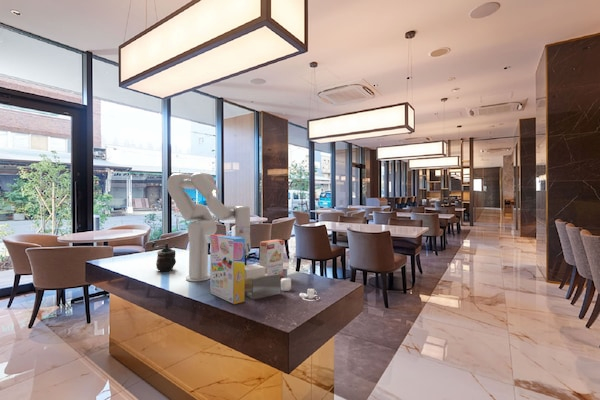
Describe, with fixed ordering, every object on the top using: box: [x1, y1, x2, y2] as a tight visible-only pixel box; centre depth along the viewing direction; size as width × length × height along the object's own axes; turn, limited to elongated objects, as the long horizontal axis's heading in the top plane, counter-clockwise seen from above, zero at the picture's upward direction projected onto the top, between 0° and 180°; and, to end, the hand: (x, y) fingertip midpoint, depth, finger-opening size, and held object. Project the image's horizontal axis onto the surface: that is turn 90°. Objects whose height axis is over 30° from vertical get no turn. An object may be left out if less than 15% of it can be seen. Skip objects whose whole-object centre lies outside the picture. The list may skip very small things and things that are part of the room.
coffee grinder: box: [151, 241, 177, 272], centre depth 178 cm, size 13×15×18 cm
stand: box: [245, 274, 281, 300], centre depth 141 cm, size 20×14×9 cm
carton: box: [245, 263, 265, 279], centre depth 145 cm, size 9×10×4 cm
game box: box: [209, 233, 246, 305], centre depth 131 cm, size 21×6×27 cm, turn 44°
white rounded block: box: [280, 277, 292, 292], centre depth 144 cm, size 5×5×5 cm
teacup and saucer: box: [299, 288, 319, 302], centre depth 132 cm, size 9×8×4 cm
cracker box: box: [259, 238, 285, 278], centre depth 164 cm, size 14×6×21 cm, turn 144°
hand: (243, 265), depth 153 cm, fingers closed
